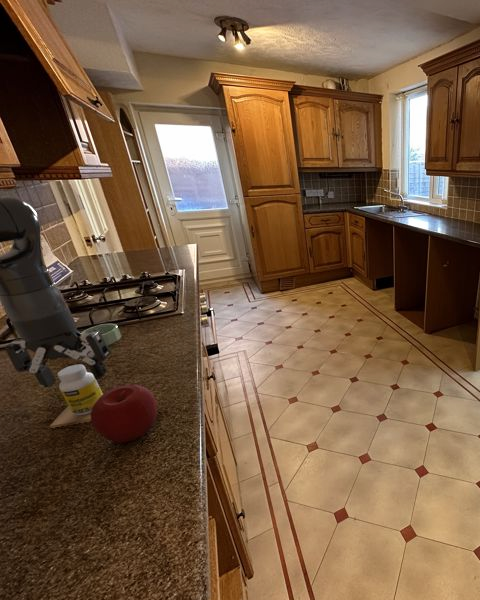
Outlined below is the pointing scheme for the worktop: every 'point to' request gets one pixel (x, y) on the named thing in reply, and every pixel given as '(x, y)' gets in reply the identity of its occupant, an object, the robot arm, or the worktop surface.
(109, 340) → the bowl
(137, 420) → the apple
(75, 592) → the worktop surface
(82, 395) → the supplement bottle
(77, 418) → the board
